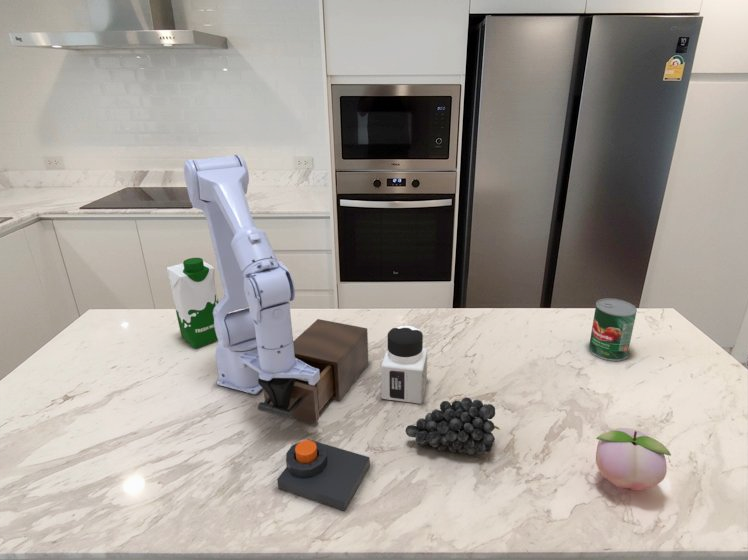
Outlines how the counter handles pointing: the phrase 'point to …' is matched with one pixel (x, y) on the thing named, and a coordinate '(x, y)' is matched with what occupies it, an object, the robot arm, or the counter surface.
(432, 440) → the fruit
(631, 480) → the decorative fruit
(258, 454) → the counter surface
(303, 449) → the button
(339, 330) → the cabinet
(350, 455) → the button block
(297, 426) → the counter surface
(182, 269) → the milk carton
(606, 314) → the canned tomato
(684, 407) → the counter surface
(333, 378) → the drawer
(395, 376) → the container
